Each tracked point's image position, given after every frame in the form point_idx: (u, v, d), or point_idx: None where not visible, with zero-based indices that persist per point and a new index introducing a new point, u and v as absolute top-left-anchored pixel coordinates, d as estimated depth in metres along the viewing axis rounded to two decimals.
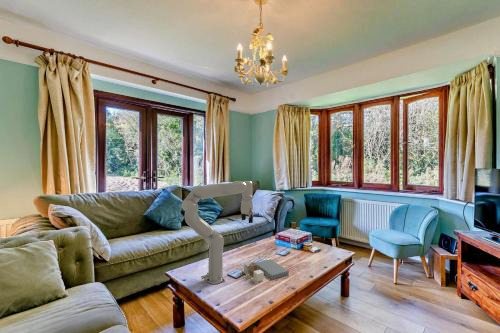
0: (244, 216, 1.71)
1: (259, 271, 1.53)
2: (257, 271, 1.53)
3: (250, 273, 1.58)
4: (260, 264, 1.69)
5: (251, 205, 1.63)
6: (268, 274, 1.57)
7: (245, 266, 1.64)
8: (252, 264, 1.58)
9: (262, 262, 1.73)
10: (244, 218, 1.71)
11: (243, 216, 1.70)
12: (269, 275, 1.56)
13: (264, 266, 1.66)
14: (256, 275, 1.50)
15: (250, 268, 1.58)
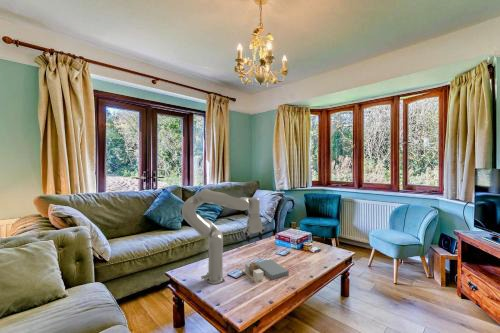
0: None
1: (259, 270, 1.54)
2: (257, 270, 1.54)
3: (250, 273, 1.58)
4: (260, 264, 1.69)
5: None
6: (268, 274, 1.57)
7: (246, 266, 1.63)
8: (252, 264, 1.58)
9: (262, 262, 1.73)
10: None
11: None
12: (269, 275, 1.56)
13: (264, 266, 1.66)
14: (256, 274, 1.51)
15: (250, 268, 1.58)
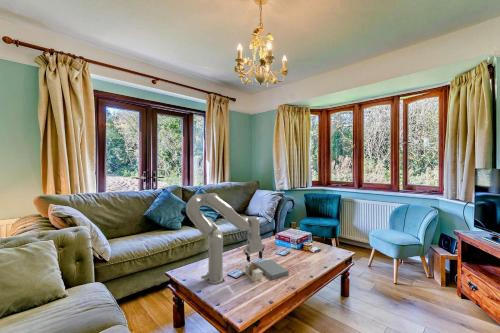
0: None
1: (258, 270, 1.55)
2: (256, 270, 1.55)
3: (250, 273, 1.58)
4: (260, 264, 1.69)
5: None
6: (268, 274, 1.57)
7: (246, 267, 1.62)
8: (252, 264, 1.58)
9: (262, 262, 1.73)
10: None
11: None
12: (269, 275, 1.56)
13: (264, 266, 1.66)
14: (255, 274, 1.52)
15: (250, 268, 1.58)
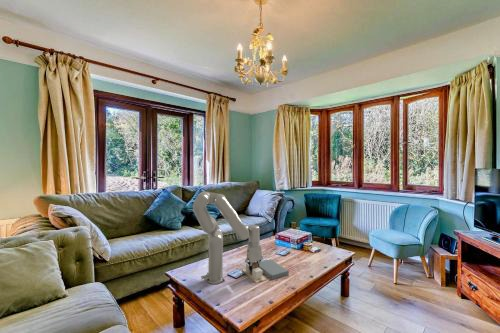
0: None
1: (258, 269, 1.55)
2: (256, 269, 1.55)
3: (250, 272, 1.58)
4: (260, 264, 1.69)
5: None
6: (268, 274, 1.57)
7: (247, 266, 1.62)
8: (252, 263, 1.58)
9: (262, 262, 1.73)
10: None
11: None
12: (269, 275, 1.56)
13: (264, 266, 1.66)
14: (255, 273, 1.52)
15: None
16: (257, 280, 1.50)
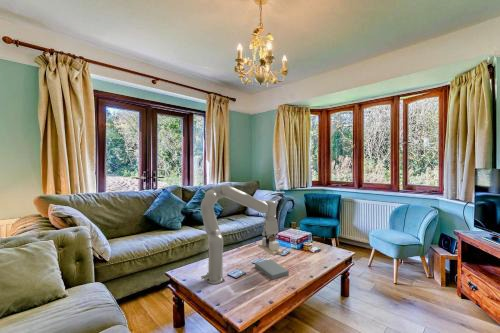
0: None
1: (274, 241, 1.62)
2: (272, 241, 1.62)
3: (267, 245, 1.65)
4: (260, 264, 1.69)
5: None
6: (268, 274, 1.57)
7: (263, 240, 1.69)
8: (269, 236, 1.65)
9: (262, 262, 1.73)
10: None
11: None
12: (269, 275, 1.56)
13: (264, 266, 1.66)
14: (272, 245, 1.59)
15: None
16: (274, 251, 1.57)
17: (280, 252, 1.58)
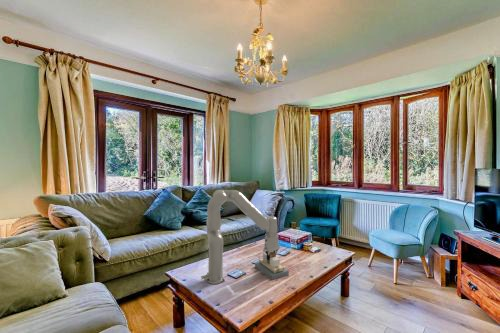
0: None
1: (275, 258, 1.63)
2: (273, 258, 1.63)
3: (268, 261, 1.65)
4: (260, 264, 1.69)
5: None
6: (268, 274, 1.57)
7: (264, 256, 1.69)
8: (270, 252, 1.66)
9: None
10: None
11: None
12: (269, 275, 1.56)
13: (264, 266, 1.66)
14: (272, 261, 1.60)
15: None
16: (275, 268, 1.57)
17: (281, 269, 1.58)
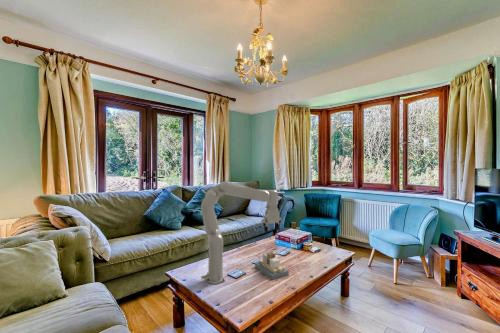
0: None
1: (275, 259, 1.63)
2: (273, 259, 1.63)
3: (268, 262, 1.65)
4: (260, 264, 1.69)
5: None
6: (268, 274, 1.57)
7: (264, 257, 1.69)
8: (270, 253, 1.66)
9: None
10: None
11: None
12: (269, 275, 1.56)
13: (264, 266, 1.66)
14: (272, 262, 1.60)
15: (268, 257, 1.65)
16: (275, 269, 1.57)
17: (281, 270, 1.58)
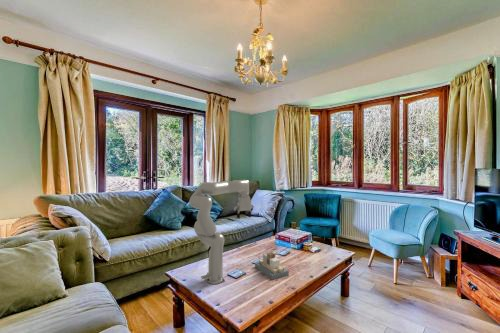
0: None
1: (275, 259, 1.63)
2: (273, 259, 1.63)
3: (268, 262, 1.65)
4: (260, 264, 1.69)
5: None
6: (268, 274, 1.57)
7: (264, 257, 1.69)
8: (270, 253, 1.66)
9: None
10: None
11: None
12: (269, 275, 1.56)
13: (264, 266, 1.66)
14: (272, 262, 1.60)
15: (268, 257, 1.65)
16: (275, 269, 1.57)
17: (281, 270, 1.58)
